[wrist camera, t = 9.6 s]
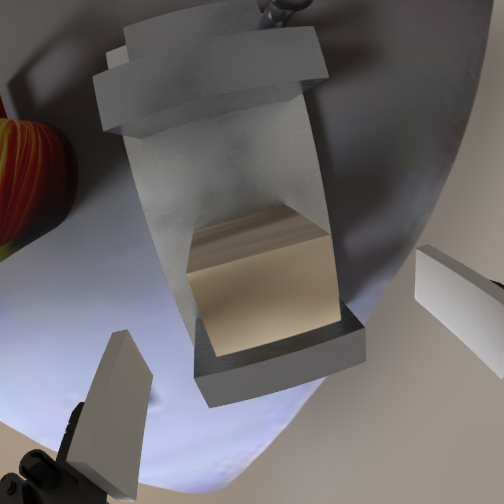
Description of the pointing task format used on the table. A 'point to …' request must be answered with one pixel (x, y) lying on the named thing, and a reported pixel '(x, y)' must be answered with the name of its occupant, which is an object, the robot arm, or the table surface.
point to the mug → (33, 181)
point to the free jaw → (208, 65)
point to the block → (262, 279)
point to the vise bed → (230, 208)
